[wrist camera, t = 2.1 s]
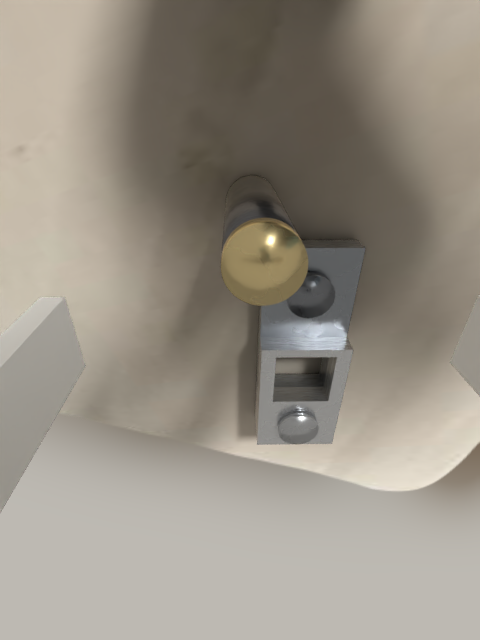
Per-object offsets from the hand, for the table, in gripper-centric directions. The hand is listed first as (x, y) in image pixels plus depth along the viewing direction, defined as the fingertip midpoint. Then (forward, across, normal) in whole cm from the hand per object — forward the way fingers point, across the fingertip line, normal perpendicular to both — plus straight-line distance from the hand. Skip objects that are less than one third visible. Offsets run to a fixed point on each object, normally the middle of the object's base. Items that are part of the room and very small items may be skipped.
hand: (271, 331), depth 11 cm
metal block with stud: (+18, +5, -13) cm, 23 cm away
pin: (+18, 0, 0) cm, 18 cm away
